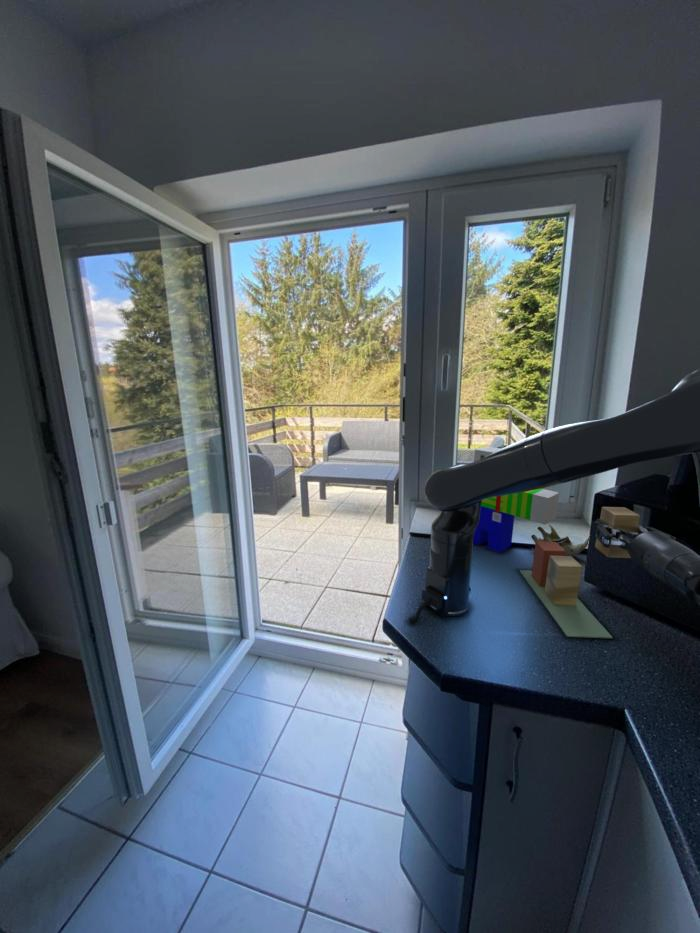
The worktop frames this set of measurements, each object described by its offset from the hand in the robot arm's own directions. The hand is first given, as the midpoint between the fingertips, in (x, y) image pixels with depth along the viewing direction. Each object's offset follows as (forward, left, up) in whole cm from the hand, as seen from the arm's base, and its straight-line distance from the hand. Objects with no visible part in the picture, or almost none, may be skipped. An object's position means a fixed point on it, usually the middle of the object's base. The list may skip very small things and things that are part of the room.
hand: (609, 523), depth 85 cm
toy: (+3, +32, -19) cm, 38 cm away
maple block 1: (-9, +4, -19) cm, 21 cm away
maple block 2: (-2, -2, -6) cm, 7 cm away
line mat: (-9, +4, -19) cm, 21 cm away
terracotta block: (-4, +10, -19) cm, 22 cm away
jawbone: (+14, +16, -19) cm, 29 cm away
